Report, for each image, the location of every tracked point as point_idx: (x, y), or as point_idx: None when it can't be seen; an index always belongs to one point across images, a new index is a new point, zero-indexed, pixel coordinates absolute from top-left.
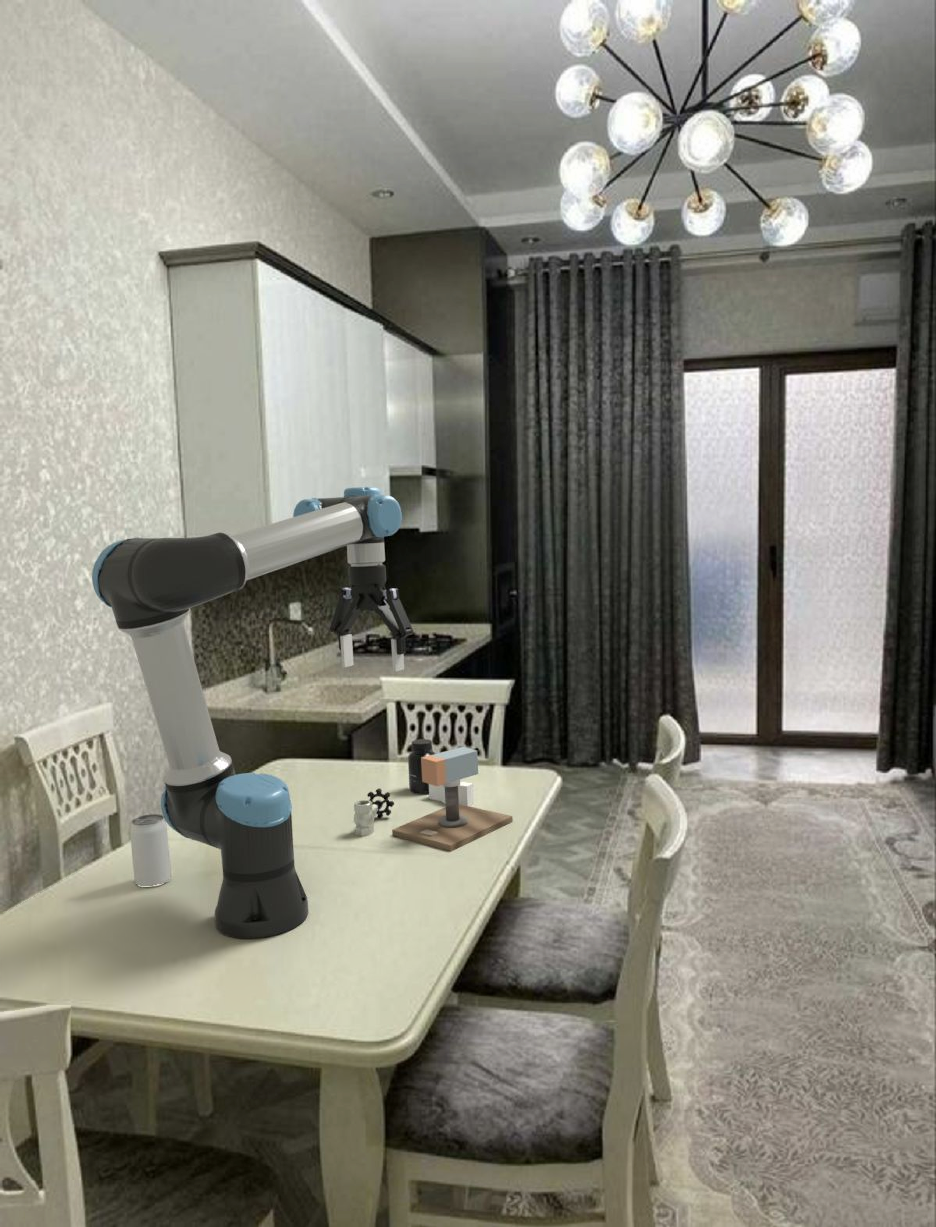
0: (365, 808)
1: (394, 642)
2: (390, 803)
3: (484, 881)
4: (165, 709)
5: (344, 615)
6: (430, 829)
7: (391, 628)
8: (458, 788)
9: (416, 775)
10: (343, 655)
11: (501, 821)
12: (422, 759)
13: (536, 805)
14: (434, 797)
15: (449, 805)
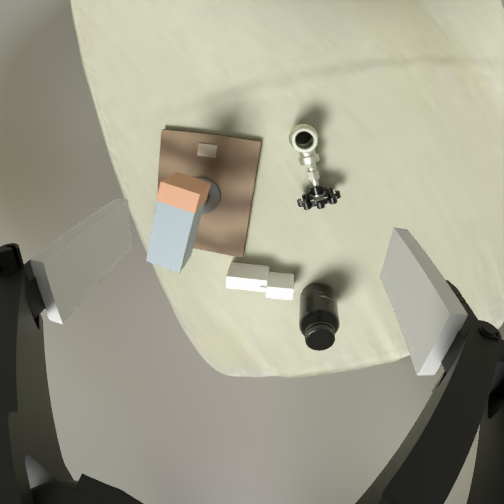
0: (294, 132)
1: (41, 253)
2: (300, 199)
3: (97, 85)
4: None
5: (485, 459)
6: (214, 163)
7: (4, 300)
8: (240, 275)
9: (318, 296)
10: (414, 251)
11: None
12: (196, 192)
13: (167, 289)
14: (286, 274)
15: None
